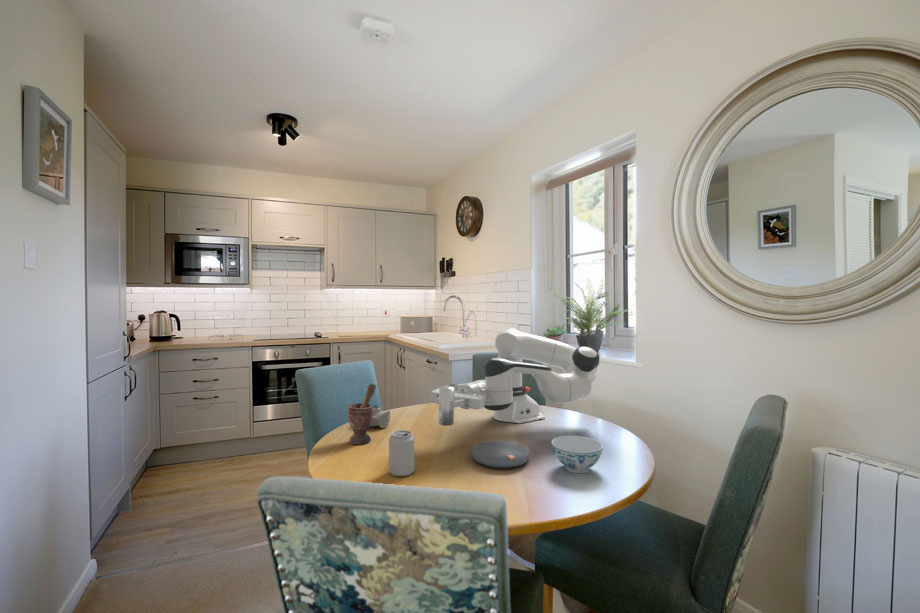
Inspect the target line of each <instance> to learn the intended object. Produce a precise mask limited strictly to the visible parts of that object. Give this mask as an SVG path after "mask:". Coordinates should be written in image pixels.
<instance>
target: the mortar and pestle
mask: <svg viewBox="0 0 920 613" xmlns="http://www.w3.org/2000/svg"><path fill="white" fill-rule="evenodd" d="M376 390H377V385H376V384H373V383H370V384H368V387H367V389H366V392H365V396H364V398H363V402H359V403H353V404H352V403H351V404H349V405H348V406H347V407H348V408H347V409H348V411H347V414H348V416H347V417H348V423H349V426H350V427H349V428H350V429H351V430H352V431H353V434H352V435H351V436H350V438H349V443H350V444H351V445H365V444H368V443H370V442H371V441H372V438H371V436H370V435H369V434H368V433H367V431H368V429H369V428H370V427H371V422H372V415H373V414H372V412H373V408H374V406H373V404H372V403H371V400H372V398H373V396H374V394H375V392H376Z"/></svg>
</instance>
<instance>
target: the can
mask: <svg viewBox="0 0 920 613" xmlns="http://www.w3.org/2000/svg"><path fill="white" fill-rule="evenodd" d="M415 456H416V455H415V436H414V435H413V431H410V430H406V429H399V430H395V431H392V432H391V433H390V436H389V439H388V472H389V473H390V474H391V475H392V476H393V475H394V476H393V477H396V476H402V477H401V478H403V476H405V477H408V476H410V475H412V473H413V472H414V471H415V458H416V457H415Z"/></svg>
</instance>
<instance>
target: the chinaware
mask: <svg viewBox="0 0 920 613" xmlns="http://www.w3.org/2000/svg"><path fill="white" fill-rule="evenodd" d="M551 447H552V451H553V453H554V455H555V457H556V459H557V460H558V461H559V463H561V464H562V465H564V468H565V470H567V472H571V473H574V474H575V473H576V474H584V473H587V472H588V471H589V469H590V468H591V467H593V466H594V465H596V464H597V462H598V461H599V460H600V458H601V455H602V453H603V449H604V446H603V444H602V443H601V442H600V441H598V440H596V439H593V438H590V437H585V436H579V435H562V436H557V437H555V438H553V439H552V440H551Z"/></svg>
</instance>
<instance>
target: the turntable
mask: <svg viewBox="0 0 920 613" xmlns="http://www.w3.org/2000/svg"><path fill="white" fill-rule="evenodd" d="M472 459H473V460H474V461H476V462H477V463H478V464H481V465H483V464H484V465H483V466H485V465H488V466H494V467H513V466H517V467H519V466H521V465H524V464H525V463H527V462H528V461H529V460H530V450H529V448H528V447H527V446H525V445H523V444H521V443H518V442H514V441H507V440H488V441H483V442H481V443H478V444H475V445H474V446H473V447H472ZM518 465H519V466H518ZM488 466H487V467H488ZM513 468H514V467H513Z"/></svg>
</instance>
